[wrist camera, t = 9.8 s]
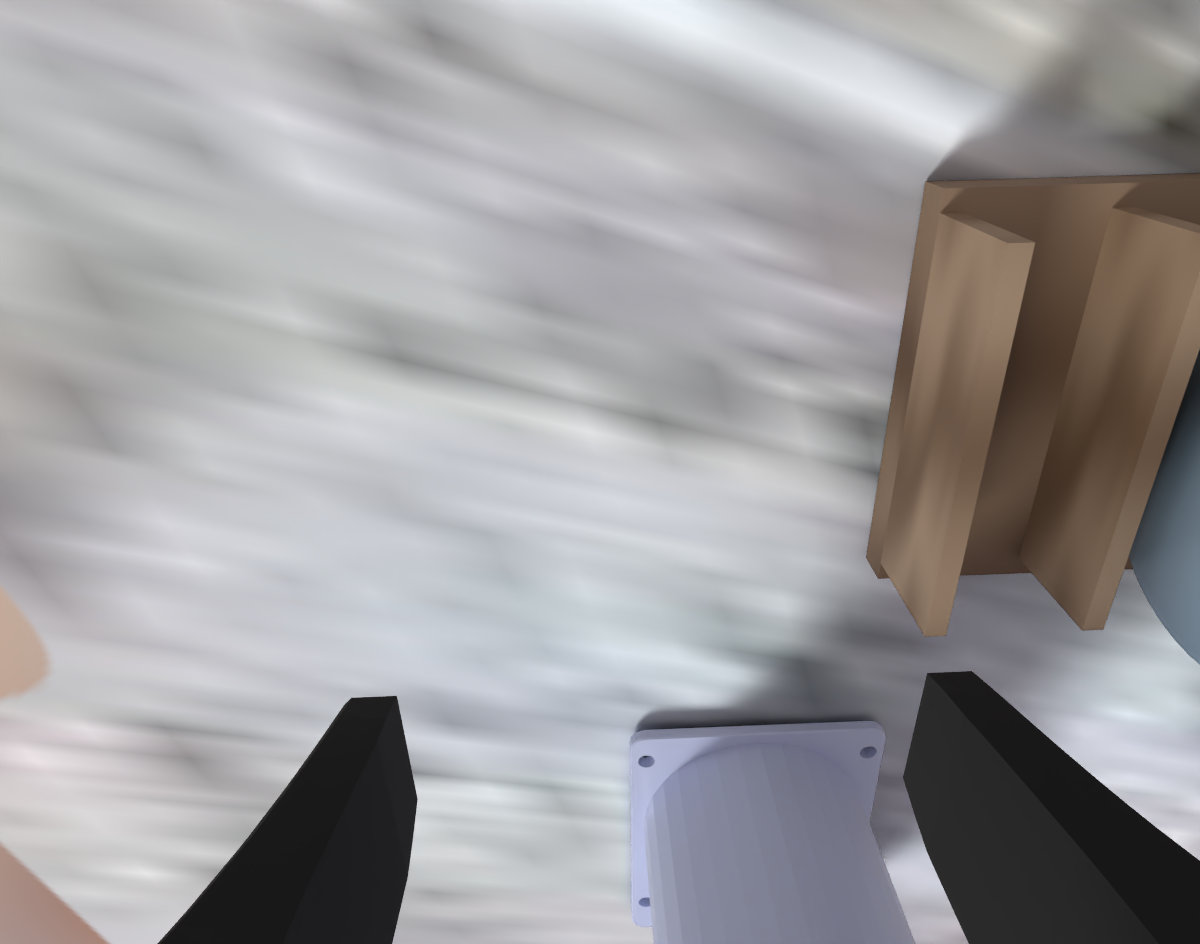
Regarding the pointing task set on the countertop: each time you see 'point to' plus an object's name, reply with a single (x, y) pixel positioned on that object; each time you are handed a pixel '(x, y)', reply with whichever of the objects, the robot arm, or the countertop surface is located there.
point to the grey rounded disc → (1175, 528)
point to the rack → (1036, 384)
